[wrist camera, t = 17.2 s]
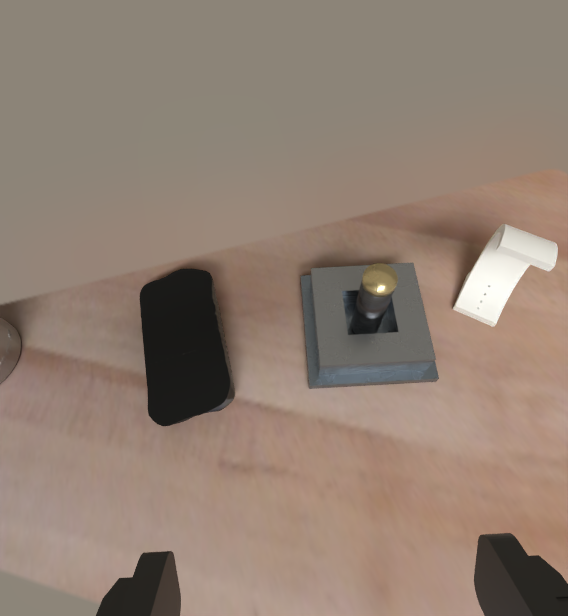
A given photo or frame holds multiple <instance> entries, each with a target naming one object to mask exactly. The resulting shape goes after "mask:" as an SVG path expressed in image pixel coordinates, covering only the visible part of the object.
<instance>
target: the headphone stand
mask: <svg viewBox="0 0 568 616" xmlns="http://www.w3.org/2000/svg"><path fill="white" fill-rule="evenodd" d="M557 253H558V247H557V244H556V243H554V242H552V241H549V240H546V239H544V238H541V237H538V236H536V235H533V234H530V233H528V232H525V231H522V230H520V229H517V228H514V227H512V226H509V225H506V224H502V225H501V226H500V227H499V228H498V229H497V230H496V232H495V233H494V234H493V236H492V237H491V239H490V240H489V242H488V243H487V245H486V246H485V248H484V249H483V251H482V253H481V254H480V256H479V258H478V260H477V261H476V263H475V265H474V267H473V268H472V270H471V272H469V273H468V275H467V276H466V279H465V281H464V283H463V286H462V288H461V290H460V293H459V295H458V298H457V300H456V302H455V305H454V307H453V310H456V311H458V312H460V313H463V314H465V315H467V316H469V317H472V318H474V319H476V320H479V321H481V322H483V323H486V324H488V325H490V326H492V327H494V326H495V325H496V324H497V321H498V318H499V316H500V314H501V311H502V309H503V307H504V305H505V303H506V301H507V299H508V297H509V296H510V294H511V292H512V290H513V289H514V287H515V285H516V284H517V282H518V281H519V279H520V278H521V276H522V275H523V273H524V272H525V271H526V269H527V268H528V267H529V266H530V264H531V265H533V266H536V267H539V268H541V269H544V270H546V271H550V270H551V269H552V268H553V267H554V266H555V263H556V259H557Z"/></svg>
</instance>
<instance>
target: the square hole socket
mask: <svg viewBox="0 0 568 616" xmlns="http://www.w3.org/2000/svg"><path fill="white" fill-rule="evenodd" d="M386 265H388V266H390V267H391V268H393V269H394V270H395V272H396V274H397V276H398V282H397V285H396V287H395V290H394V292H393V295H392V297H391V300H390V302H389V305H388V307H387V309H386V312H385V314H384V317H383V319H382V322H381V324H380V327H379V329H378V331H377V333H375V334H356V333H355V332H354V331H353V329H352V327H351V320H352V316H353V312H354V309H355V305H356V301H357V297H358V293H359V289H360V285H361V281H362V277H363V273H364V271H365V269H366V268H367V267H368V266H370V265H362V266H344V267H326V268H311V275H305V276H301V291H302V304H303V316H304V328H305V341H306V353H307V366H308V378H309V389H312V388H330V387H348V386H365V385H383V384H401V383H419V382H436V381H437V380H438V379H439V377H438V372H437V368H436V364H435V360H436V358H435V354H434V349H433V345H432V341H431V336H430V332H429V328H428V324H427V319H426V315H425V311H424V306H423V302H422V298H421V294H420V289H419V285H418V281H417V277H416V272H415V268H414V264H413V263H398V264H386Z"/></svg>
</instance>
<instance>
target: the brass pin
mask: <svg viewBox="0 0 568 616" xmlns="http://www.w3.org/2000/svg"><path fill="white" fill-rule="evenodd" d="M397 282H398V276H397V274H396V272H395V270H394V269H393V268H391V267H390V266H388V265H386V264H382V263H376V264H372V265H370V266H368V267H367V268H366V269H365V271H364V273H363V277H362V281H361V285H360V289H359V293H358V297H357V301H356V305H355V309H354V312H353V316H352V320H351V327H352V329H353V331H354V332H355V333H356V334H375V333H377V331H378V329H379V327H380V324H381V322H382V319H383V317H384V314H385V312H386V309H387V307H388V305H389V302H390V300H391V297H392V295H393V292H394V290H395V287H396V285H397Z"/></svg>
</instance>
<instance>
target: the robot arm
mask: <svg viewBox="0 0 568 616" xmlns="http://www.w3.org/2000/svg"><path fill="white" fill-rule="evenodd" d="M20 350H21V340H20V336H19V334H18V332H17V330H16V329H15V328H14V326H12V325H11V324H9V323H8V322H7V321H5V320H4V319H2V318H1V317H0V383H1V382H3V381H4V380H5V379H6V378H7V376H8V375H9V374H10V373H11V372H12V370H13V368H14V367H15V365H16V363H17V361H18V358H19V356H20ZM474 585H475V591H476V595H477V598H478V601H479V604H480V606H481V609H482V611H483V613H484V615H485V616H568V584H567V582H566V581H565V580H564V578H563V577H562V575H561V574H560V573H559V572H558V571H556V570H555V569H554V568H553V567H552V566H550V565H549V564H548V563H547V562H546V561H545V560H543V559H542V558H541V557H540V556H539V555H538V556H528V555H527V553H526V552H525V550H524V549H523V547H522V546H521V544H520V543H519V541H518V540H517V539H516V537H515V536H514V535H512V534H511V533H502V534H485V535H480V536H479V539H478V547H477V556H476V565H475V574H474ZM180 609H181V595H180V588H179V582H178V576H177V571H176V565H175V559H174V554H173V552H172V551H167V552H149V553H143V554H142V555H141V557H140V559H139V561H138V564H137V567H136V569H135V572H134V575H133V577H131V578H119V579H118V581H117V582H116V583H115V584H114V586H113V587H112V588H111V589H110V590H109V592H108V593H107V594H106V595H105V597H104V598H103V600H102V602H101V605H100V607H99V609H98V612H97V614H96V616H180Z"/></svg>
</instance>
